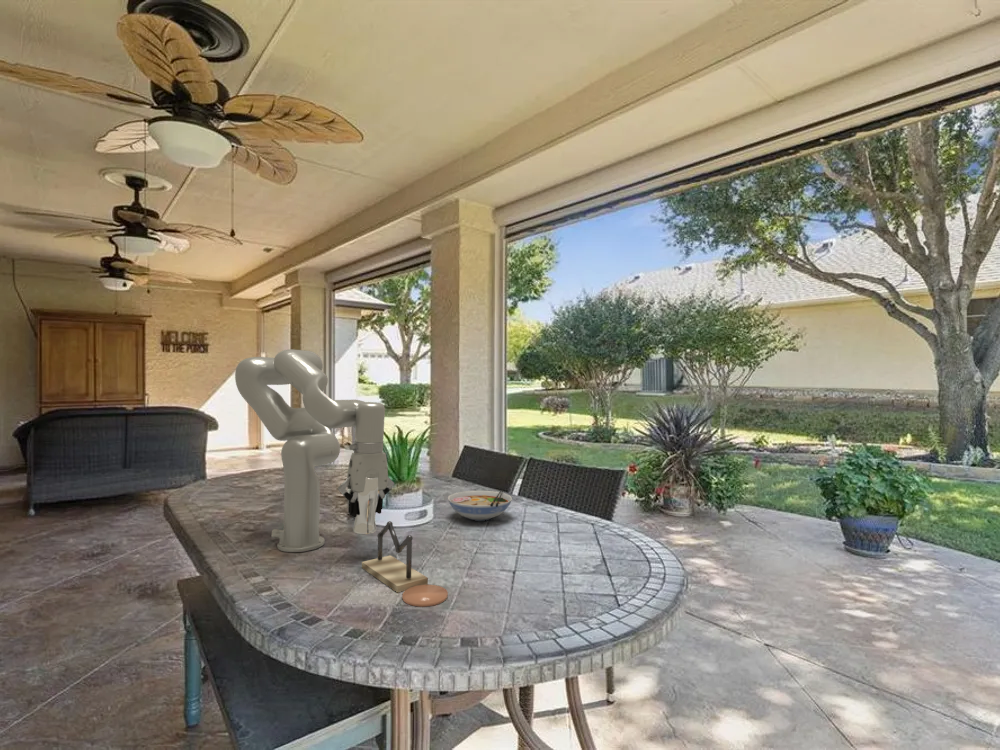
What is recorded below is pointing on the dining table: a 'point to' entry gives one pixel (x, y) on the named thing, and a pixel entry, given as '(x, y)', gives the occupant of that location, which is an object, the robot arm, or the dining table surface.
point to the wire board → (394, 573)
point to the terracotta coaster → (425, 595)
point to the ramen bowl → (479, 504)
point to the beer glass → (367, 507)
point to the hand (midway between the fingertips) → (365, 513)
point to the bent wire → (396, 546)
